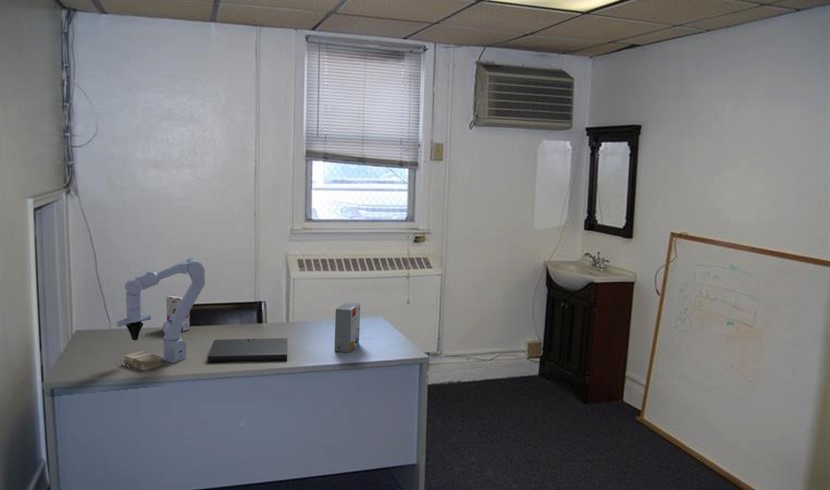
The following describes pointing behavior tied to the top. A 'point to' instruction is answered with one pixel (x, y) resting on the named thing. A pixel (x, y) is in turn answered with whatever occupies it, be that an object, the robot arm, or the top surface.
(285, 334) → the top surface
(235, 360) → the closed laptop
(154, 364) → the maple block
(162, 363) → the mat
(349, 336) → the hard drive box
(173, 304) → the candy bar box
